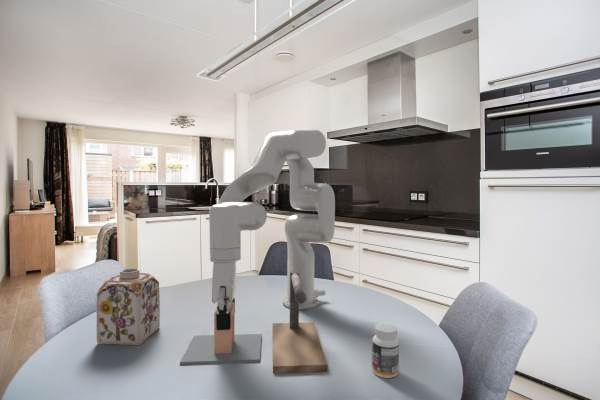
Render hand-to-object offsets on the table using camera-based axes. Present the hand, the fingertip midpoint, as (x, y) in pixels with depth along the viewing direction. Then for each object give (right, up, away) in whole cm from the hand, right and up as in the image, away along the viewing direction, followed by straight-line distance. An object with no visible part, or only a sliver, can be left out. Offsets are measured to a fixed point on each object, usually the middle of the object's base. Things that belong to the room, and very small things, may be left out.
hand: (226, 321), depth 84 cm
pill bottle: (+37, -8, -10) cm, 39 cm away
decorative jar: (-28, -7, +7) cm, 29 cm away
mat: (0, -7, 0) cm, 7 cm away
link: (0, -6, 0) cm, 6 cm away
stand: (+18, -7, +1) cm, 19 cm away
